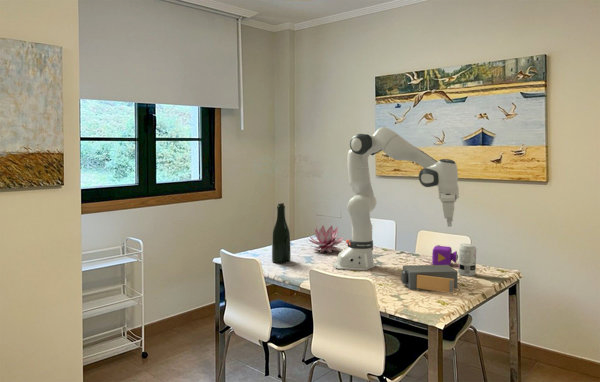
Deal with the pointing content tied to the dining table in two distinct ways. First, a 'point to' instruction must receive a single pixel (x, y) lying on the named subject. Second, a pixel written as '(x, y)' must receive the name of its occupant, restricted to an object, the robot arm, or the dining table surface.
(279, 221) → the beer bottle
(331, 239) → the decorative flower
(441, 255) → the toy camera
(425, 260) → the dining table surface
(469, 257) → the supplement can
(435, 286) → the side door
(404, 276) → the grey cabinet
